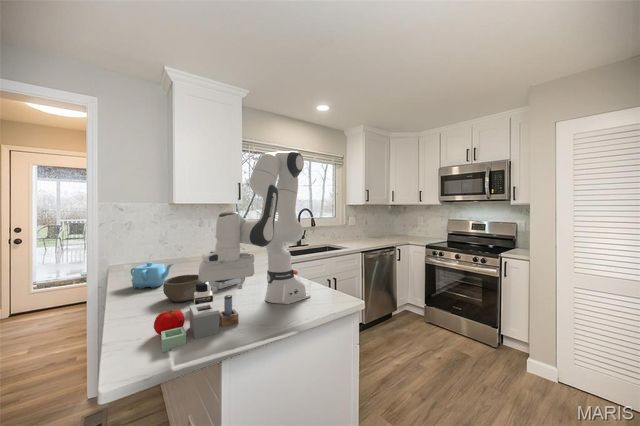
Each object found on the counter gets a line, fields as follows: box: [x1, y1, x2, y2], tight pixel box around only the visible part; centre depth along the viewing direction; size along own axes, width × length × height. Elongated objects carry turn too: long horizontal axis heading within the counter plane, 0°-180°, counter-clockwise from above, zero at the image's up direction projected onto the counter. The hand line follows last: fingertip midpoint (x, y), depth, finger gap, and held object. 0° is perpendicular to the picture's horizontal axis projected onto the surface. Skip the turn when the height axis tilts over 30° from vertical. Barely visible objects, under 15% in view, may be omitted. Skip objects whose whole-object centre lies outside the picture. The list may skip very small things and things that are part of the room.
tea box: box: [212, 278, 241, 290], centre depth 155 cm, size 15×10×15 cm
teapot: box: [129, 261, 174, 290], centre depth 151 cm, size 18×16×14 cm
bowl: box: [162, 274, 201, 303], centre depth 131 cm, size 17×18×10 cm
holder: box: [219, 308, 240, 328], centre depth 103 cm, size 6×6×4 cm
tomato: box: [153, 308, 186, 337], centre depth 96 cm, size 9×10×8 cm
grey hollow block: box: [189, 301, 220, 340], centre depth 96 cm, size 8×10×9 cm
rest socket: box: [160, 326, 187, 353], centre depth 88 cm, size 7×7×4 cm
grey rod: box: [223, 294, 233, 316], centre depth 103 cm, size 3×3×10 cm
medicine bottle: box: [193, 282, 214, 305], centre depth 117 cm, size 7×7×12 cm
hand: (227, 290), depth 102 cm, fingers open, 8 cm apart
